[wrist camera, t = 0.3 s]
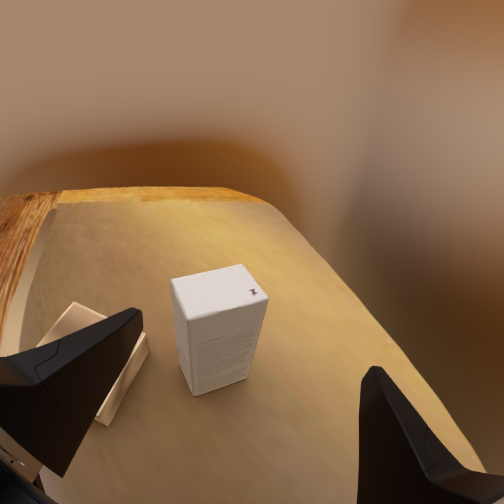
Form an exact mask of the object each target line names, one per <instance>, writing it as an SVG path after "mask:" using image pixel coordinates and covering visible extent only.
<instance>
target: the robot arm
mask: <svg viewBox="0 0 504 504" xmlns="http://www.w3.org/2000/svg"><path fill="white" fill-rule="evenodd" d="M142 330H143V317H142V311H141V310H139V309H136V308H134V307H131V308H129V309H126V310H124V311H122V312H119V313H117V314H115V315H112V316H110V317H108V318H106V319H103V320H101V321H99V322H96V323H94V324H92V325H89V326H87V327H85V328H82V329H80V330H78V331H75V332H73V333H71V334H68V335H66V336H64V337H62V338H61V339H57V340H54V341H52V342H50V343H47V344H45V345H42V346H39V347H36V348H33V349H30V350H27V351H24V352H21V353H17V354H14V355H11V356H7V357H0V504H58V503H57V502H55V501H54V500H52V499H51V498H50V497H48V496H47V495H46V494H45V491H44V488H43V485H42V482H41V479H40V475H39V471H40V470H41V468H42V466H43V465H45V466H46V467H47V468H49V469H50V470H51V471H53V472H54V473H55V474H57V475H58V476H60V477H61V478H63V476H64V475H65V473H66V471H67V469H68V467H69V465H70V463H71V461H72V459H73V457H74V455H75V453H76V451H77V449H78V448H79V446H80V444H81V442H82V440H83V438H84V436H85V434H86V433H87V431H88V429H89V427H90V425H91V424H92V422H93V420H94V418H95V416H96V415H97V413H98V411H99V409H100V408H101V406H102V404H103V402H104V401H105V399H106V397H107V396H108V394H109V392H110V391H111V389H112V387H113V385H114V384H115V382H116V380H117V379H118V377H119V375H120V374H121V372H122V371H123V369H124V367H125V366H126V364H127V362H128V360H129V358H130V356H131V354H132V352H133V350H134V347H135V345H136V343H137V341H138V339H139V337H140V335H141V333H142ZM357 504H504V476H500V475H493V474H487V473H481V472H476V471H471V470H469V469H467V468H465V467H464V466H462V465H461V464H460V463H459V461H458V460H457V459H456V458H455V457H454V456H453V455H452V454H451V453H450V452H449V451H448V449H447V448H446V447H445V446H444V445H443V444H442V443H441V442H440V440H439V439H438V438H437V437H436V435H435V434H434V433H433V432H432V430H431V429H430V428H429V427H428V425H427V424H426V422H425V421H424V420H423V419H422V417H421V416H420V415H419V413H418V412H417V411H416V410H415V408H414V407H413V406H412V404H411V403H410V402H409V401H408V399H407V398H406V397H405V395H404V394H403V393H402V392H401V390H400V389H399V388H398V387H397V385H396V384H395V383H394V382H393V380H392V379H391V378H390V377H389V375H388V374H387V373H386V372H385V370H384V369H383V368H382V367H380V366H371V367H370V369H369V370H368V372H367V373H366V374H365V376H364V377H363V379H362V381H361V392H360V406H359V474H358V493H357Z"/></svg>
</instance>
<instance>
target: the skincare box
mask: <svg viewBox="0 0 504 504" xmlns="http://www.w3.org/2000/svg"><path fill="white" fill-rule="evenodd" d="M170 286H171V297H172V309H173V318H174V326H175V335H176V344H177V351H178V359H179V365H180V367H181V369H182V372H183V374H184V377H185V379H186V381H187V384H188V386H189V388H190V391H191V393H192V395H193V396H198V395H201V394H204V393H207V392H210V391H213V390H216V389H219V388H222V387H225V386H227V385H230V384H233V383H236V382H238V381H241V380H244V379H246V378H247V377H248V374H249V370H250V367H251V363H252V359H253V356H254V352H255V349H256V345H257V341H258V338H259V334H260V330H261V327H262V322H263V319H264V315H265V311H266V308H267V304H268V300H269V297H268V296H267V295H266V294H265V292H264V291H263V290H262V289H261V287H260V286H259V285H258V284H257V282H256V281H255V280H254V278H253V277H252V276H251V275H250V273H249V272H248V271H247V269H246V268H245V267H244V266H243V265H242V264H238V265H234V266H230V267H225V268H221V269H216V270H212V271H207V272H202V273H198V274H193V275H189V276H184V277H179V278H175V279H171V280H170Z"/></svg>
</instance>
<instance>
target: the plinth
mask: <svg viewBox="0 0 504 504" xmlns="http://www.w3.org/2000/svg"><path fill="white" fill-rule="evenodd" d="M106 318H108V317H106V316H103V315H101V314H99V313H97V312H95V311H93V310H91V309H89V308H86V307H84V306H82V305H80V304H78V303H76V302H73V303H72V304H71V305H70V306H69V307H68V309H67V310H66V311H65V312H64V313H63V314H62V316H61V317H60V318H59V319H58V320H57V322H56V323H55V324H54V325H53V326H52V328H51V329H50V330H49V331H48V333H47V334H46V335H45V336H44V338H43V339H42V340H41V342H40V343H39V344H38V346H37V347H39V346H42V345H45V344H47V343H50V342H52V341H54V340H57V339H61V338H62V337H64V336H66V335H68V334H71V333H73V332H75V331H78V330H80V329H82V328H85V327H87V326H89V325H92V324H94V323H96V322H99V321H101V320H103V319H106ZM149 351H150V348H149V344H148V340H147V335H146V333H143V332H142V333H141V335H140V337H139V339H138V341H137V343H136V345H135V347H134V350H133V352H132V354H131V356H130V358H129V360H128V362H127V364H126V366H125V367H124V369H123V371H122V372H121V374H120V375H119V377H118V379H117V380H116V382H115V384H114V385H113V387H112V389H111V391H110V392H109V394H108V396H107V397H106V399H105V401H104V402H103V404H102V406H101V408H100V409H99V411H98V413H97V415H96V416H95V418H94V419H95V420H97V421H99V422H100V423H102V424H104V425H106V426H108V427H109V425H110V423H111V421H112V419H113V417H114V415H115V413H116V411H117V409H118V407H119V406H120V404H121V402H122V400H123V398H124V396H125V394H126V393H127V391H128V389H129V387H130V385H131V383H132V382H133V380H134V378H135V376H136V374H137V372H138V371H139V369H140V367H141V365H142V364H143V362H144V360H145V358H146V356H147V355H148V353H149Z"/></svg>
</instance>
